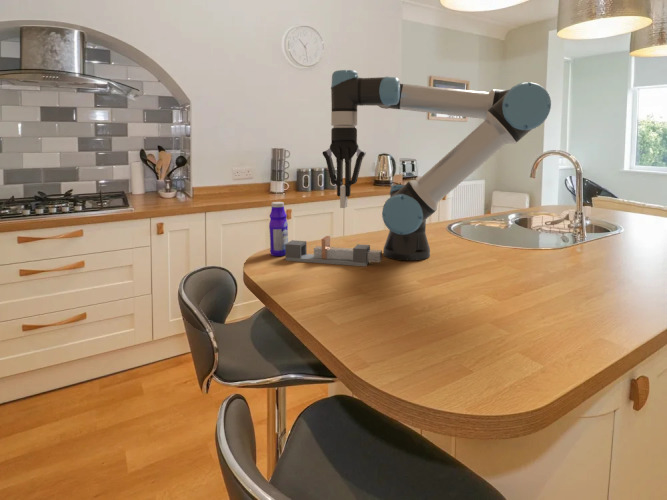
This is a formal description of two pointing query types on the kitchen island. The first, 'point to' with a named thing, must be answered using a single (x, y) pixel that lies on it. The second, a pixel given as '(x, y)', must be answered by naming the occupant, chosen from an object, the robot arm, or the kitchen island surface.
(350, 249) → the long square rod
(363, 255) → the rail
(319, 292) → the kitchen island surface
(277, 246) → the bottle
